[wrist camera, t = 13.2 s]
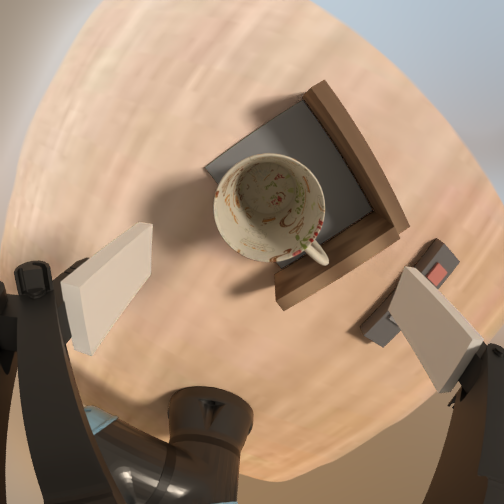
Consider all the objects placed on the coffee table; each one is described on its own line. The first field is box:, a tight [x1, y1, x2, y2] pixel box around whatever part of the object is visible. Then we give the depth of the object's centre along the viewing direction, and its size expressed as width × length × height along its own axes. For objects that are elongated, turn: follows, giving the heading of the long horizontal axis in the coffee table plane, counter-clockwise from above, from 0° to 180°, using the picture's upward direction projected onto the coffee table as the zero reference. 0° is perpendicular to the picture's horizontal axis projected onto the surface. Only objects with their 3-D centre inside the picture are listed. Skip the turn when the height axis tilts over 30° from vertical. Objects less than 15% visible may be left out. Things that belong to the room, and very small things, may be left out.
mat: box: [205, 100, 373, 269], centre depth 30 cm, size 13×14×1 cm
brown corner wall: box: [274, 80, 410, 311], centre depth 28 cm, size 16×16×6 cm
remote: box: [360, 238, 460, 347], centre depth 34 cm, size 16×4×2 cm, turn 146°
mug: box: [213, 153, 329, 266], centre depth 26 cm, size 8×13×10 cm, turn 47°
